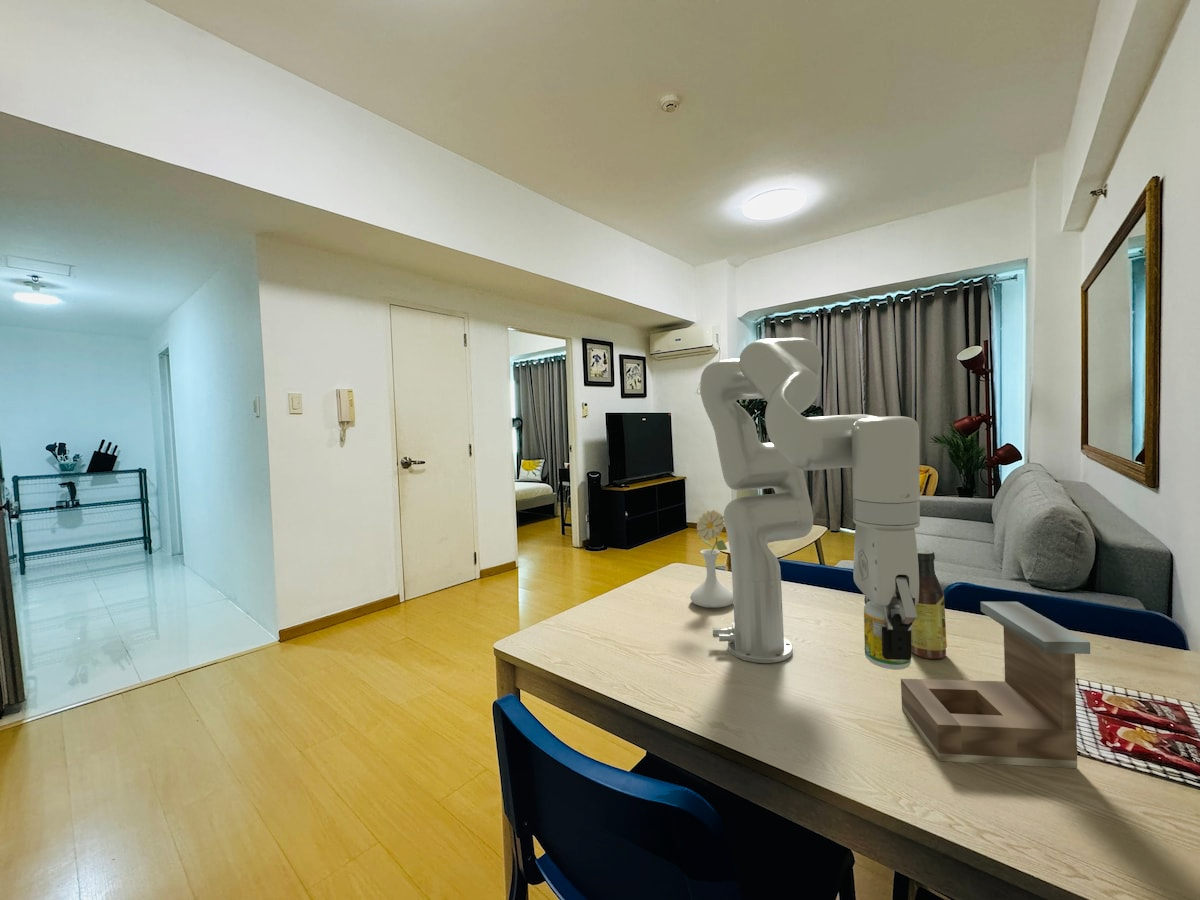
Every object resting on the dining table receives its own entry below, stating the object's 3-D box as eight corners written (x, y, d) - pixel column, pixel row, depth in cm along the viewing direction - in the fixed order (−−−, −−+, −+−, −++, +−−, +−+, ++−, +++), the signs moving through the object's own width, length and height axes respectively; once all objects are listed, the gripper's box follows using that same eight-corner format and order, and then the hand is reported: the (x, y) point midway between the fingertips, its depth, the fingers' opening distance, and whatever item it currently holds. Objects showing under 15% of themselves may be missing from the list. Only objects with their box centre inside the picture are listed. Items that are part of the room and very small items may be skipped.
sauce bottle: (953, 661, 92) (950, 555, 91) (916, 660, 93) (912, 556, 92) (937, 645, 98) (933, 546, 97) (902, 644, 99) (898, 547, 98)
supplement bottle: (907, 675, 62) (906, 600, 61) (860, 663, 65) (858, 592, 65) (914, 657, 66) (913, 587, 65) (869, 646, 70) (868, 580, 69)
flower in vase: (683, 600, 132) (677, 507, 131) (720, 593, 135) (715, 503, 134) (707, 617, 119) (702, 515, 118) (748, 609, 123) (743, 509, 122)
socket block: (942, 765, 65) (938, 640, 65) (899, 705, 79) (895, 601, 78) (1092, 774, 62) (1090, 642, 61) (1020, 710, 76) (1017, 601, 75)
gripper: (835, 500, 73) (838, 618, 75) (878, 528, 56) (880, 680, 58) (890, 498, 72) (892, 619, 73) (951, 527, 55) (952, 683, 56)
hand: (887, 645), depth 66 cm, fingers closed on supplement bottle, 5 cm apart
